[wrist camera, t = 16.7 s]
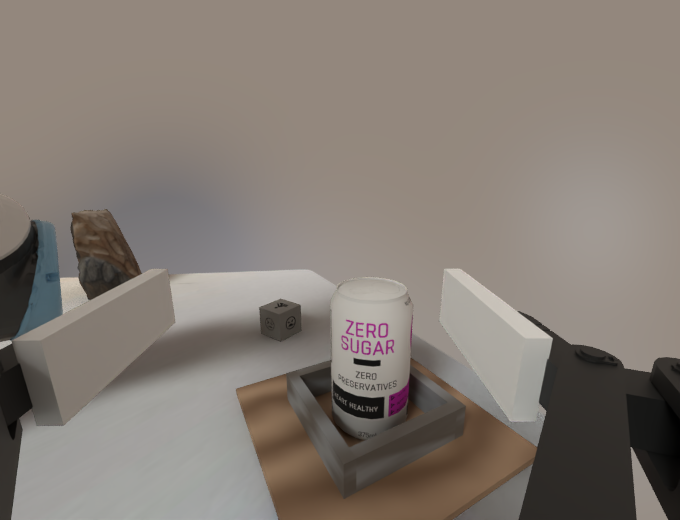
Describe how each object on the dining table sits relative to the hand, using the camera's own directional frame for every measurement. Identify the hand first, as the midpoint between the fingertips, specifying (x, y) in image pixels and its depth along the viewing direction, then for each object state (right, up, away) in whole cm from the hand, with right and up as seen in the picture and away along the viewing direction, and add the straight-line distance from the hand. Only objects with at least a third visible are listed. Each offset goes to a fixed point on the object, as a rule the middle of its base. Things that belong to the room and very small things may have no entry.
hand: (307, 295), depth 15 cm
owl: (-53, -6, +62) cm, 82 cm away
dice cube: (-9, -11, +41) cm, 44 cm away
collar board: (+5, -17, +20) cm, 27 cm away
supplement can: (+5, -16, +20) cm, 26 cm away
